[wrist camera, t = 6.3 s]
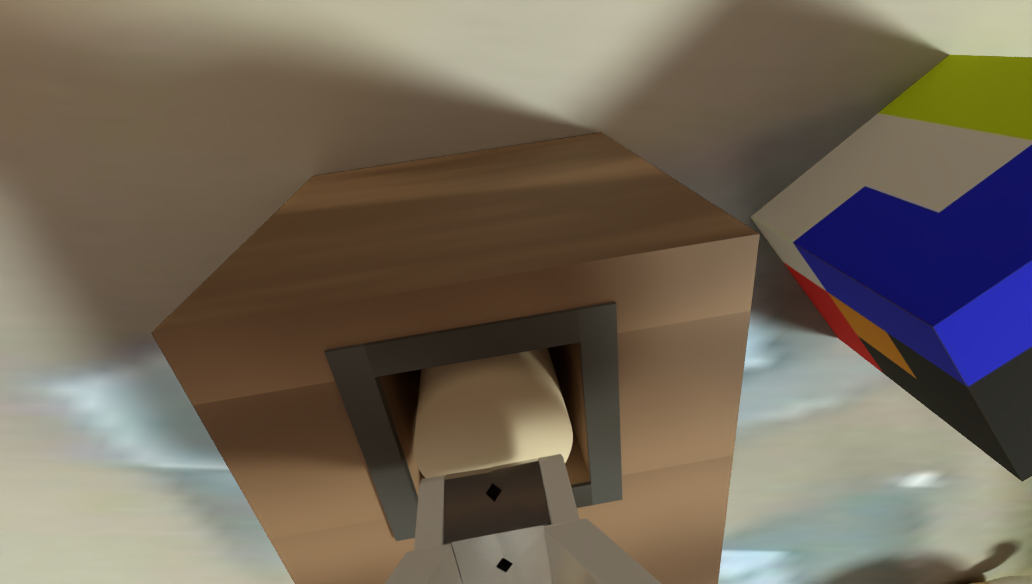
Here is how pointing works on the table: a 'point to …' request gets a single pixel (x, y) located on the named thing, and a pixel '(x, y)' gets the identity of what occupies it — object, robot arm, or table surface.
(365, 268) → the walnut block
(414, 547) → the robot arm
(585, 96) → the table surface
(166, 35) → the table surface
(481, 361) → the peg
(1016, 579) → the kitten
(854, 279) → the puzzle toy
